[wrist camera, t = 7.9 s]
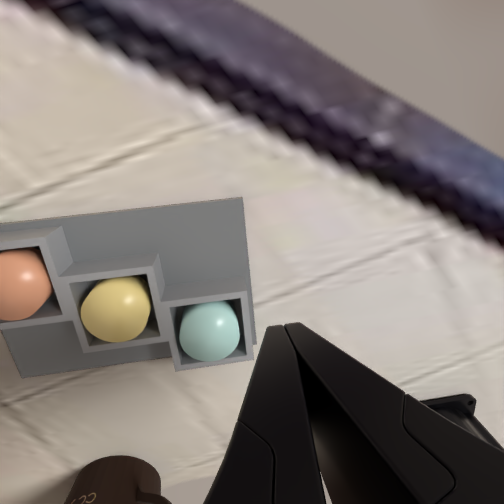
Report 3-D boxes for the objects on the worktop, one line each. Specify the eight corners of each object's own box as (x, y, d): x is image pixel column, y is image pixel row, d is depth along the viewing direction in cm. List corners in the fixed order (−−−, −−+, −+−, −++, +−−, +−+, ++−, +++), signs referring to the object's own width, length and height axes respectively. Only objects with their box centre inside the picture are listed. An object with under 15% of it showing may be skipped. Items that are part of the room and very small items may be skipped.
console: (242, 197, 19) (246, 206, 17) (255, 340, 23) (260, 364, 21) (-37, 227, 18) (-72, 242, 16) (25, 374, 22) (3, 402, 19)
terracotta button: (48, 242, 18) (29, 255, 16) (66, 297, 19) (51, 315, 17) (-18, 249, 18) (-45, 264, 16) (4, 305, 19) (-18, 324, 17)
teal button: (233, 290, 20) (236, 307, 19) (239, 337, 22) (242, 357, 20) (178, 297, 20) (174, 315, 18) (186, 344, 21) (184, 365, 19)
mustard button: (146, 267, 19) (140, 283, 17) (158, 318, 20) (153, 337, 19) (86, 275, 19) (72, 291, 17) (101, 326, 20) (90, 346, 18)
